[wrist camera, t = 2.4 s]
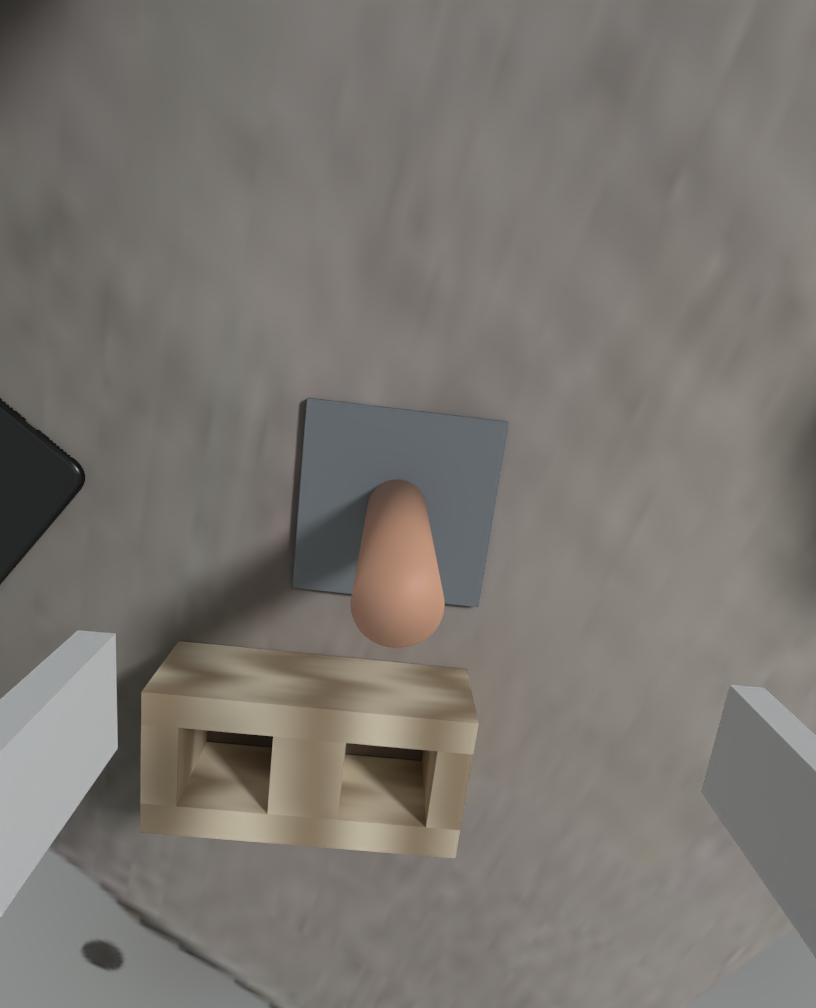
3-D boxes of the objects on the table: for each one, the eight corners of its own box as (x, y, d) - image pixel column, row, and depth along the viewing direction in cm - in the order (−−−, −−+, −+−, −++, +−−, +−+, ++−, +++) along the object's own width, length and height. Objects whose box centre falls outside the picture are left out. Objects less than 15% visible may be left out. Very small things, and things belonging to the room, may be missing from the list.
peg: (364, 532, 31) (346, 642, 19) (370, 476, 30) (355, 556, 19) (422, 538, 31) (437, 652, 20) (429, 482, 30) (450, 566, 19)
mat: (293, 585, 32) (292, 587, 32) (308, 397, 30) (307, 398, 29) (477, 603, 33) (478, 607, 32) (506, 421, 30) (508, 422, 30)
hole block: (175, 764, 35) (140, 832, 30) (178, 641, 33) (141, 692, 28) (447, 788, 36) (455, 858, 31) (466, 669, 34) (478, 723, 29)
